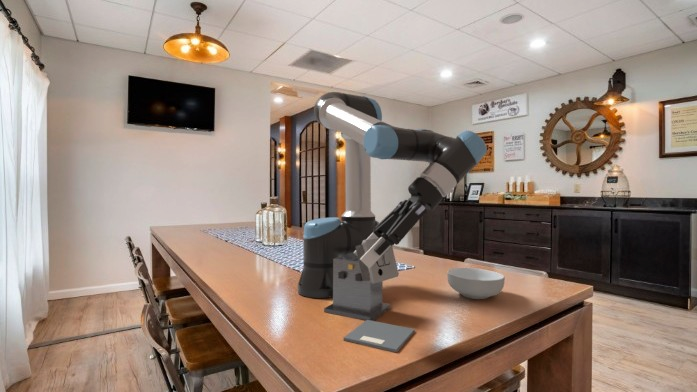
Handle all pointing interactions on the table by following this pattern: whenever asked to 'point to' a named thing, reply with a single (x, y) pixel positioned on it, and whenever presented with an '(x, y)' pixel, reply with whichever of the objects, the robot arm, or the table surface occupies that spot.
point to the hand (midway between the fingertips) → (361, 260)
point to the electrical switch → (377, 263)
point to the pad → (380, 335)
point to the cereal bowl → (475, 282)
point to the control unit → (354, 291)
